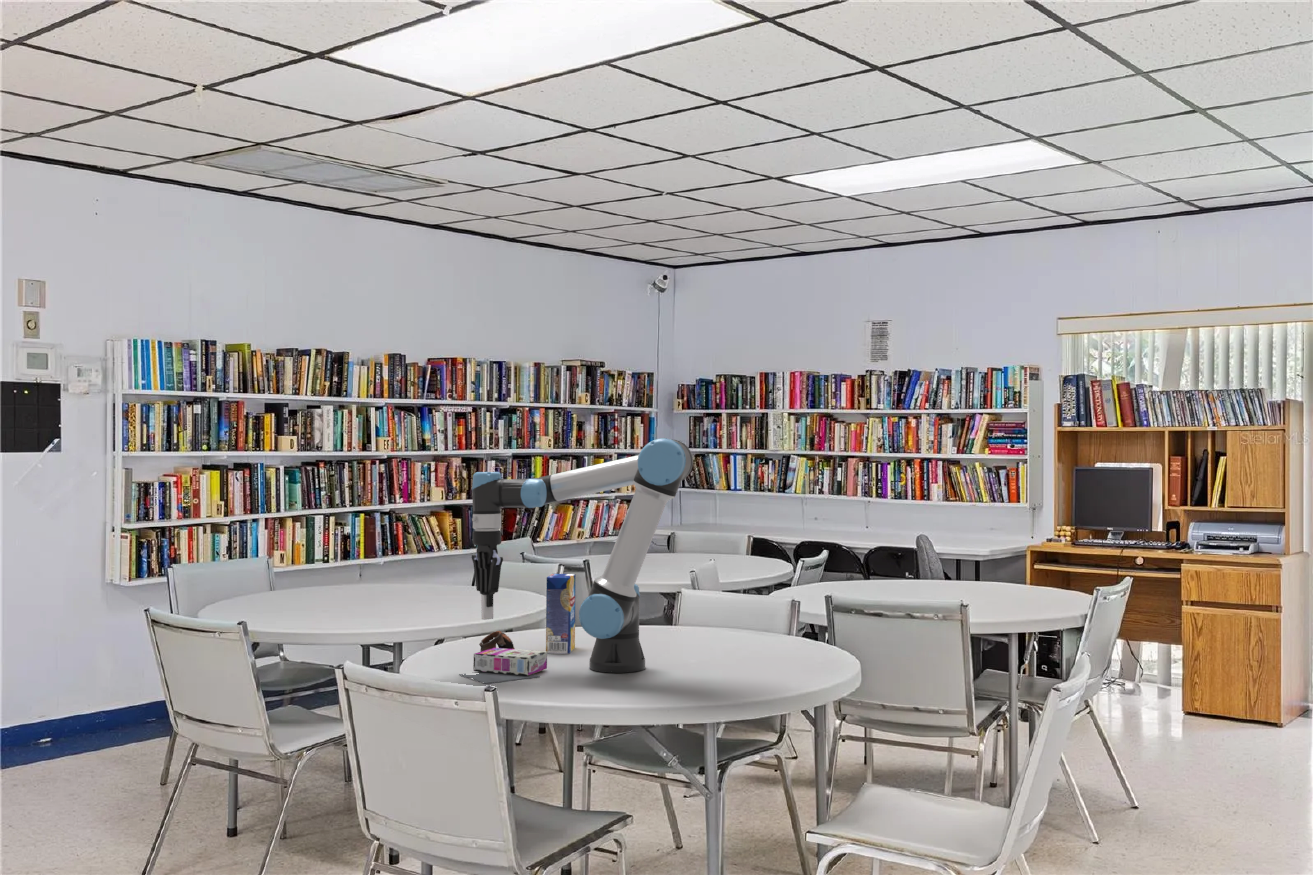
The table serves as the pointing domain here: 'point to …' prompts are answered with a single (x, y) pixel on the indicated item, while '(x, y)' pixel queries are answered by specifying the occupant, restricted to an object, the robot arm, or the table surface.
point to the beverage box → (560, 613)
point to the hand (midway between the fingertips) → (487, 618)
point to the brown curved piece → (496, 641)
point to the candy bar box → (510, 661)
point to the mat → (497, 677)
